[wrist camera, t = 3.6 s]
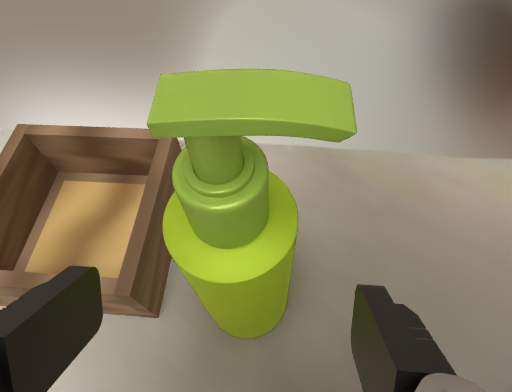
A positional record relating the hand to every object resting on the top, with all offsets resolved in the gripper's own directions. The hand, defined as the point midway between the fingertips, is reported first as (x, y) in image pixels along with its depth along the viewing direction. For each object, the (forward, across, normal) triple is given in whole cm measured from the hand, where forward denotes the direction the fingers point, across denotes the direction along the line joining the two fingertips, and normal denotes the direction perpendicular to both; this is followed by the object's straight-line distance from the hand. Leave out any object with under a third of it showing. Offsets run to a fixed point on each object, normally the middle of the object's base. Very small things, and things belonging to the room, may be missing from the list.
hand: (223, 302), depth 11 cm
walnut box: (+17, +14, +5) cm, 22 cm away
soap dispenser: (+14, 0, +8) cm, 16 cm away
